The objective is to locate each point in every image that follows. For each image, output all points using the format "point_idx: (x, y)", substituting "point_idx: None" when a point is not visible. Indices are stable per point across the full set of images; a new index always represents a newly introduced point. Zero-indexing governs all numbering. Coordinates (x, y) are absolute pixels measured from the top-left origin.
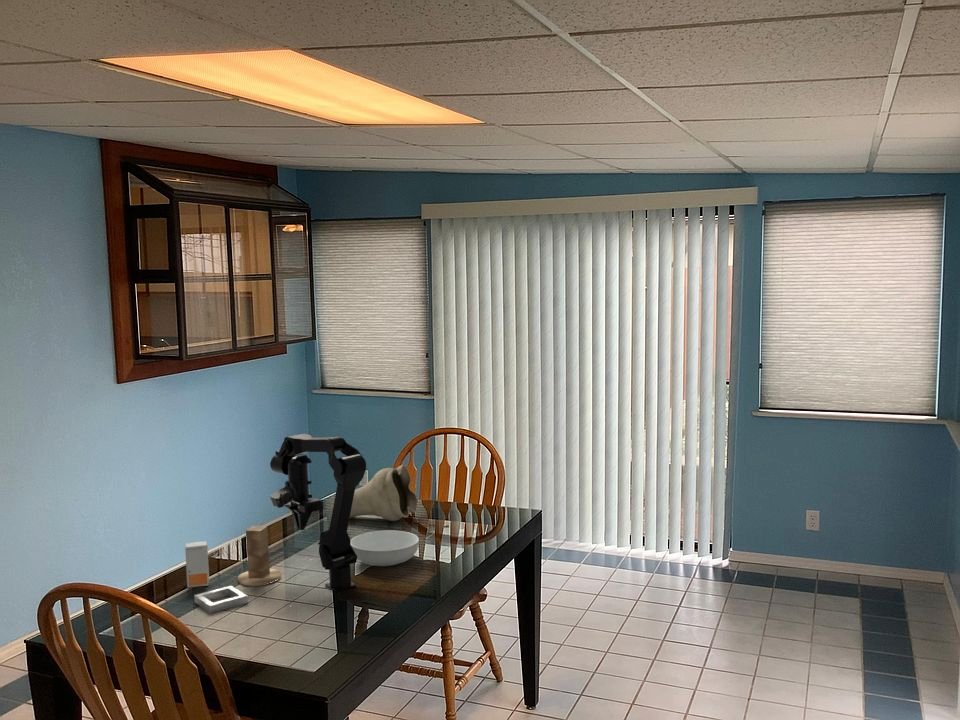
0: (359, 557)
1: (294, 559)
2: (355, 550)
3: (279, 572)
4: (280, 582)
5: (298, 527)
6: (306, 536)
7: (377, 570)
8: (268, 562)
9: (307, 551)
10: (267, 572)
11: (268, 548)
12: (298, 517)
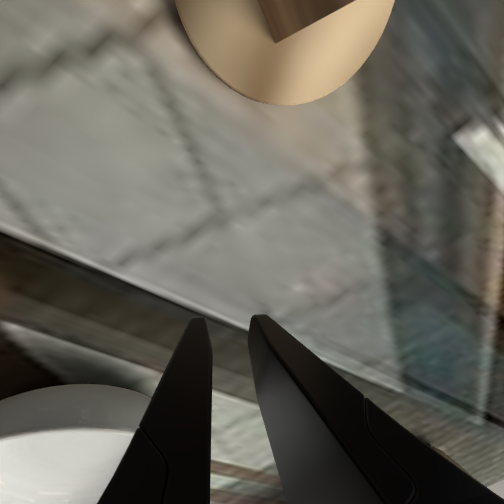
0: (31, 397)
1: (345, 248)
2: (37, 418)
3: (242, 87)
4: (145, 18)
5: (256, 327)
6: (447, 356)
7: (4, 390)
8: (294, 18)
9: (363, 311)
10: (266, 8)
11: (345, 3)
12: (179, 479)
